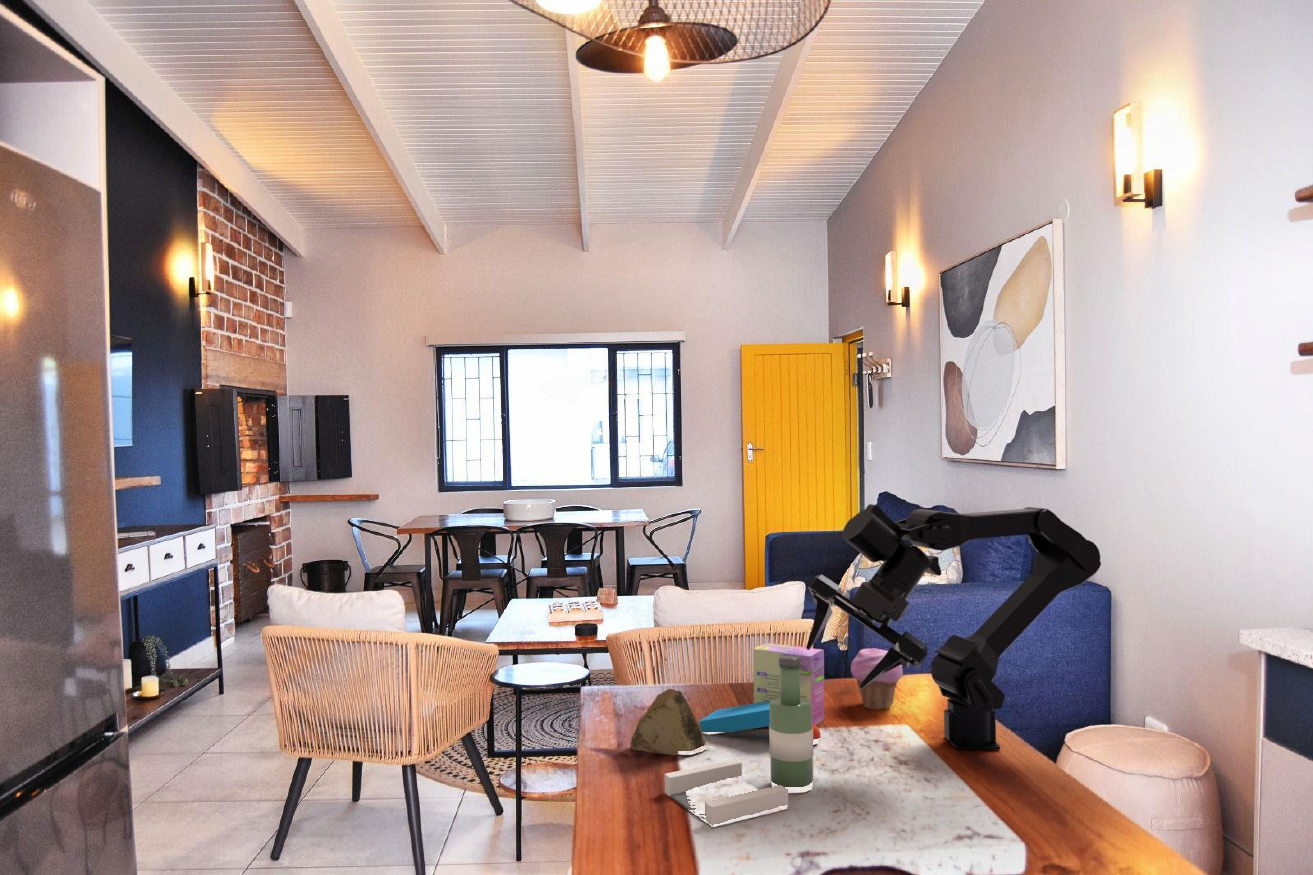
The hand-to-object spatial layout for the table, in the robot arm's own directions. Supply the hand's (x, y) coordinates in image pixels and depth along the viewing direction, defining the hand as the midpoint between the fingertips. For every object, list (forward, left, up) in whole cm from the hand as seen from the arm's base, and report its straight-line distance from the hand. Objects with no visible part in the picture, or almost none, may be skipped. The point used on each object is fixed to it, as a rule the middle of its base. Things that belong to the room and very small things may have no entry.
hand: (833, 668), depth 127 cm
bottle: (+7, +10, -13) cm, 18 cm away
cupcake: (-12, -25, -13) cm, 31 cm away
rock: (+24, -4, -13) cm, 28 cm away
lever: (+10, -10, -14) cm, 20 cm away
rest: (+17, +15, -13) cm, 26 cm away
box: (+4, -18, -13) cm, 23 cm away
